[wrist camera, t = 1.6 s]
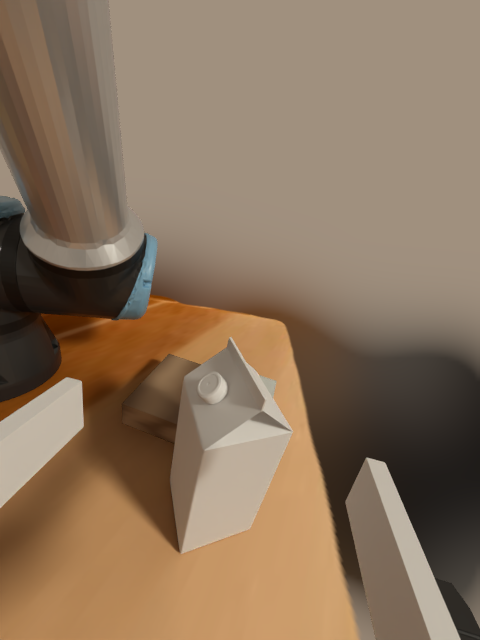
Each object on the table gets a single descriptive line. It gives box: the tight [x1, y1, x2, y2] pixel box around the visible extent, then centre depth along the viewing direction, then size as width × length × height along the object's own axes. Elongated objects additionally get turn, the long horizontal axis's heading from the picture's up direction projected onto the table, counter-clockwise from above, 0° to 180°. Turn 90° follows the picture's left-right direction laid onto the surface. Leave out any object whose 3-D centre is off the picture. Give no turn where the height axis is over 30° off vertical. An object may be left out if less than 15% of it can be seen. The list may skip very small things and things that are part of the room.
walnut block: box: [122, 354, 201, 444], centre depth 38 cm, size 12×12×4 cm
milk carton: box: [170, 337, 293, 554], centre depth 23 cm, size 7×7×19 cm
